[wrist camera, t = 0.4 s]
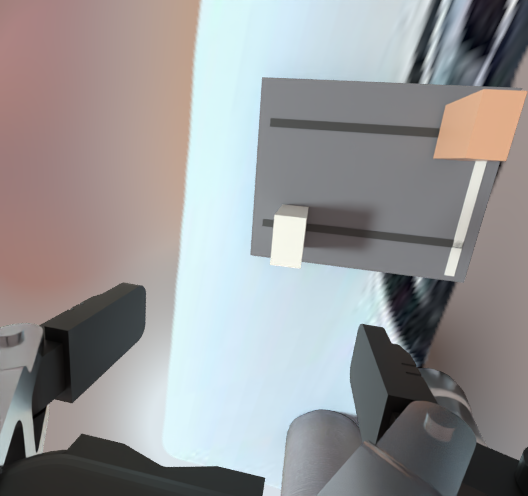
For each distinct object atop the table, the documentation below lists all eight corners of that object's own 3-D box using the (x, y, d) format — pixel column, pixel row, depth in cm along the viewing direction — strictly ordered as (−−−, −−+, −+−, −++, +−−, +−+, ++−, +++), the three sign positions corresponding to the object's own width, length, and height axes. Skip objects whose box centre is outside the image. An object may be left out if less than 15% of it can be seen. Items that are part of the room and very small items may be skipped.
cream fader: (278, 245, 29) (270, 264, 23) (282, 204, 28) (274, 214, 22) (303, 248, 28) (300, 268, 23) (308, 206, 27) (306, 218, 22)
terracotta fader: (433, 158, 24) (465, 158, 19) (445, 105, 23) (483, 89, 18) (464, 160, 24) (506, 161, 19) (478, 107, 23) (527, 90, 18)
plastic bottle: (456, 406, 33) (644, 737, 14) (392, 409, 34) (483, 711, 16) (453, 357, 31) (659, 654, 13) (386, 361, 33) (479, 634, 14)
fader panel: (254, 249, 32) (250, 255, 30) (266, 83, 27) (261, 77, 25) (454, 274, 29) (464, 282, 27) (506, 93, 24) (523, 87, 22)
